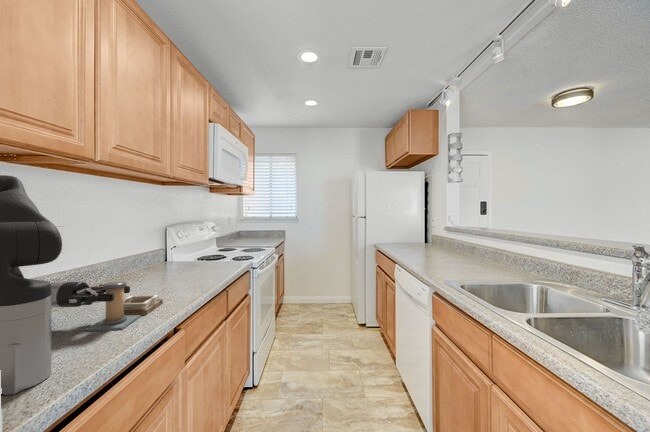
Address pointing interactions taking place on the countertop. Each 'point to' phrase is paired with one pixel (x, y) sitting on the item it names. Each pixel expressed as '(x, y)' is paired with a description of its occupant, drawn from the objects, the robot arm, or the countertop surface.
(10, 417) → the countertop surface
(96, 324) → the slate mat
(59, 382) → the countertop surface
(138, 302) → the square wooden tray
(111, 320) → the cable spool
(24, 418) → the countertop surface
